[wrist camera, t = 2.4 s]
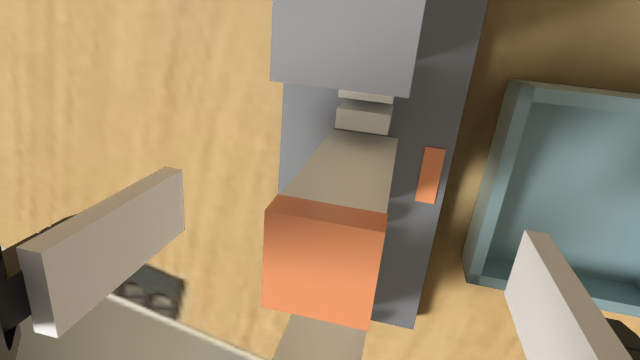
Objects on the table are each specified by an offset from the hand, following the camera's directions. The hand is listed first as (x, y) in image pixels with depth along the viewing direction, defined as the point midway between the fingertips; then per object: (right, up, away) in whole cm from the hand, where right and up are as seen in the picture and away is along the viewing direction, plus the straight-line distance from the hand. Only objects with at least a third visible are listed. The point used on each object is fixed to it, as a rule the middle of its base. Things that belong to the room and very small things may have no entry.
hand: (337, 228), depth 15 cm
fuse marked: (+1, +3, +6) cm, 7 cm away
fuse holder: (+2, +3, +7) cm, 8 cm away
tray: (+12, +1, +5) cm, 14 cm away
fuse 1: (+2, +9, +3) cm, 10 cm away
